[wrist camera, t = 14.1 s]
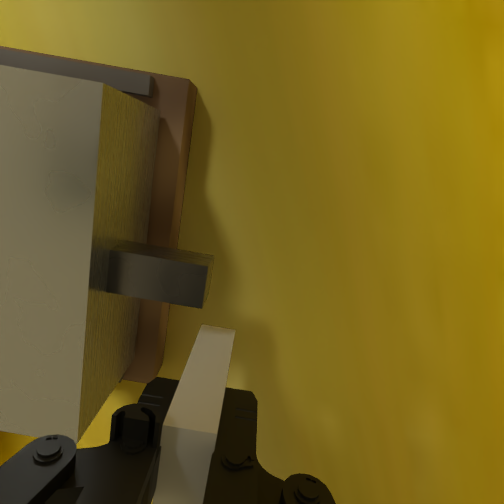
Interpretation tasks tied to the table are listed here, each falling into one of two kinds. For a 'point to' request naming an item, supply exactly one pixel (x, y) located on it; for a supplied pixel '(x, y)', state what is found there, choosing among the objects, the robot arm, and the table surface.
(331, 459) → the table surface
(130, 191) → the block
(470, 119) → the table surface
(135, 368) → the base
